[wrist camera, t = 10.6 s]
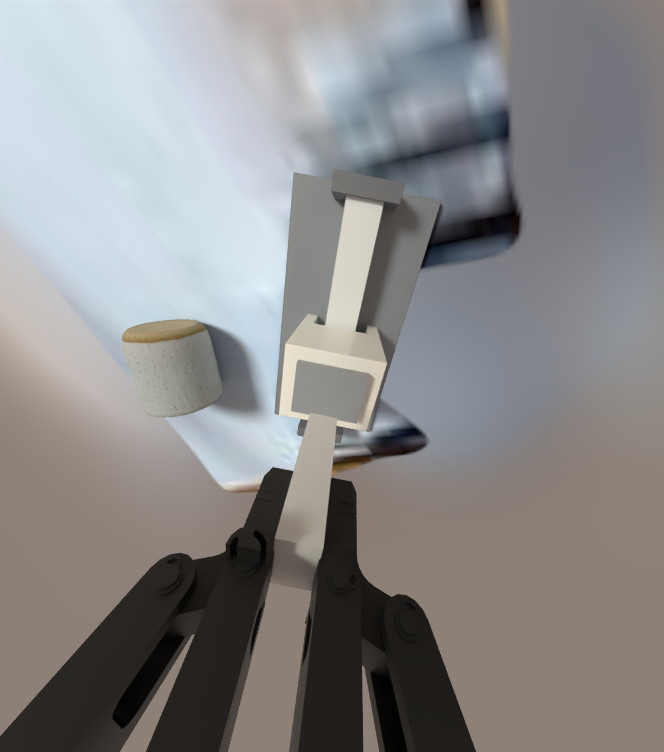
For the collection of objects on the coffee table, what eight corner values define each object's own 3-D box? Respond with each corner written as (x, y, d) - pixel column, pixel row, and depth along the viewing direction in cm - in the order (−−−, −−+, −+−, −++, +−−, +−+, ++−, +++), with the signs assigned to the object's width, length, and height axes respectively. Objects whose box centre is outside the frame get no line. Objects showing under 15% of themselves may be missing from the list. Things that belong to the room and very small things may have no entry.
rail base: (295, 174, 20) (284, 159, 17) (439, 202, 20) (454, 193, 17) (275, 411, 31) (266, 429, 28) (368, 429, 31) (370, 449, 28)
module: (308, 313, 25) (283, 346, 16) (376, 327, 25) (388, 366, 16) (301, 368, 27) (276, 421, 19) (362, 380, 27) (366, 438, 19)
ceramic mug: (219, 315, 26) (169, 337, 19) (235, 383, 30) (198, 422, 23) (128, 316, 27) (50, 337, 20) (155, 382, 31) (96, 418, 24)
